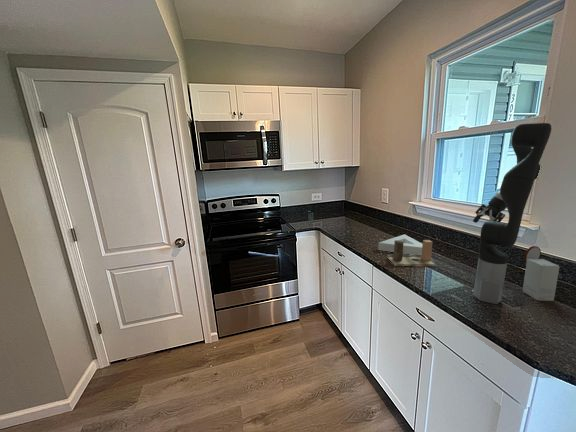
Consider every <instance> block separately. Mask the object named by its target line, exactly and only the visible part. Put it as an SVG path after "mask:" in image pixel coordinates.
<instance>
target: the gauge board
mask: <svg viewBox="0 0 576 432" xmlns="http://www.w3.org/2000/svg"><path fill="white" fill-rule="evenodd" d="M393 255H394V254H387V256H386V259H387V258H388V259H389V260H390V261H391V262H392V263H393V264H394V265H395V266H414V267H415V268H417V267H421V268H422V267H423V268H424V267H426V268H427V267H429V268H430V267H434V268H435V267H436V263H434V261H432V260H423V259H422V258H421V255H406V254H403V257H402V261H396V260H395V259H394V257H393ZM388 259H387V260H388ZM389 260H388V261H389ZM390 261H389V262H390ZM391 262H390V263H391ZM392 263H391V264H392ZM414 267H413V268H414Z"/></svg>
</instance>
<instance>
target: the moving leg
mask: <svg viewBox="0 0 576 432" xmlns="http://www.w3.org/2000/svg"><path fill="white" fill-rule="evenodd" d="M422 244H423V245H422V255H421V258H422V259H423V260H430V261H432V252H433V241H432V240H430V239H423V240H422Z"/></svg>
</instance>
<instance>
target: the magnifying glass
mask: <svg viewBox="0 0 576 432" xmlns="http://www.w3.org/2000/svg"><path fill="white" fill-rule="evenodd" d="M541 254H542V251H541V248H540V247H539V246H537V245H532V246H530V247H528V248H527V249H526V251H525V253H524V256H523V258H524V259H523V260H524V262H525V264H526V263H527V259H541V258H540V257H541V256H542V255H541Z"/></svg>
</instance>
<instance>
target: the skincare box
mask: <svg viewBox="0 0 576 432" xmlns="http://www.w3.org/2000/svg"><path fill="white" fill-rule="evenodd" d="M559 271H560V265H558V264H556V263H553V262H551V261H549V260H546V259H544V258H539V259H527V263H526V262H525V272H524V278H523V286H522V292H523V293H524V294H526V295H528V296H530V297H531V298H533V299H534V300H536V301H540V302H542V301H544V302H554V300H555V295H556V290H557V284H558V277H559Z"/></svg>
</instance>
